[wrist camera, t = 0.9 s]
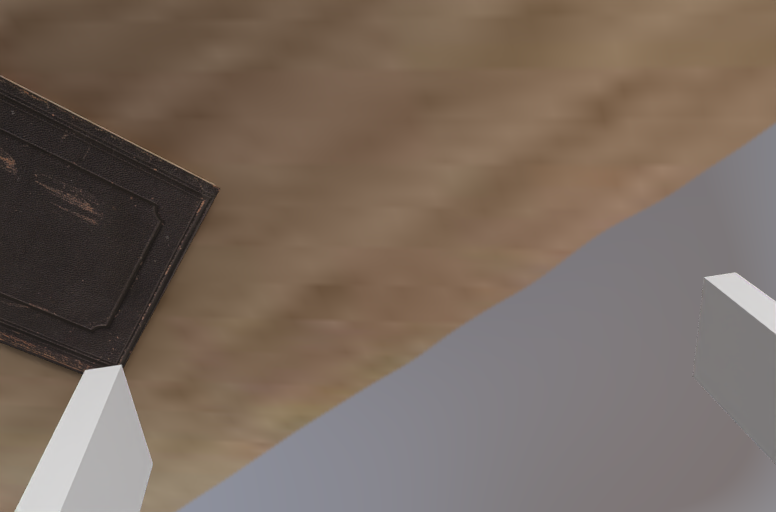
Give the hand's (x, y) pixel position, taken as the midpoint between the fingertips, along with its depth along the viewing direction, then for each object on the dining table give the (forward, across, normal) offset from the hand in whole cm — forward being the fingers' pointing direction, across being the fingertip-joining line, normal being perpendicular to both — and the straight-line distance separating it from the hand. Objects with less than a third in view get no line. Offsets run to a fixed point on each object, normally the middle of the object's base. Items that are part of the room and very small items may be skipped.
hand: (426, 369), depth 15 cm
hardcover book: (+29, -22, -3) cm, 37 cm away
